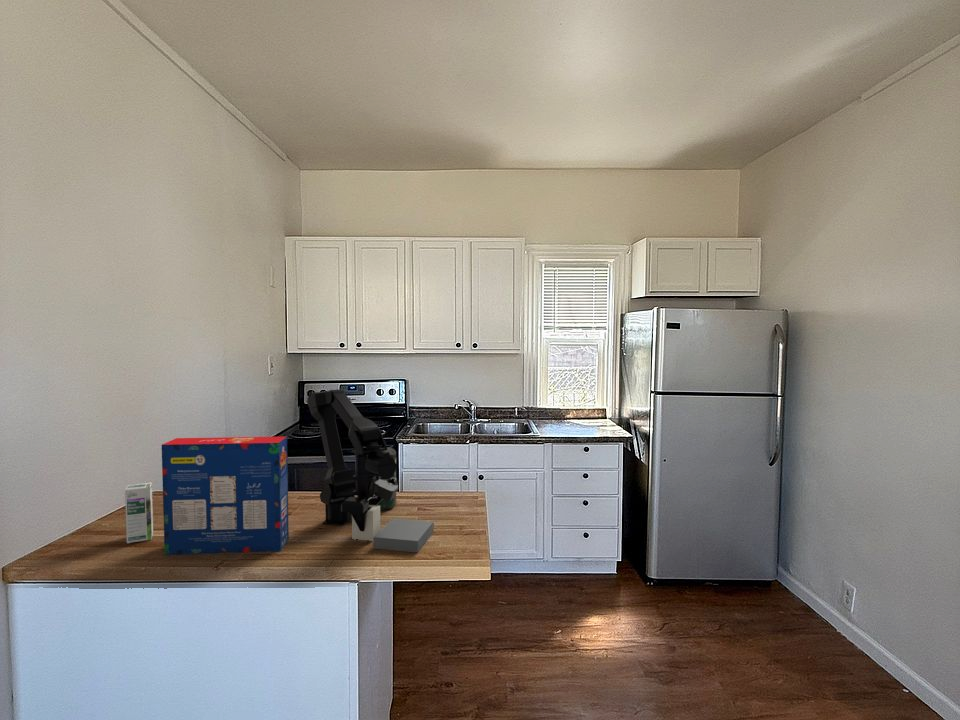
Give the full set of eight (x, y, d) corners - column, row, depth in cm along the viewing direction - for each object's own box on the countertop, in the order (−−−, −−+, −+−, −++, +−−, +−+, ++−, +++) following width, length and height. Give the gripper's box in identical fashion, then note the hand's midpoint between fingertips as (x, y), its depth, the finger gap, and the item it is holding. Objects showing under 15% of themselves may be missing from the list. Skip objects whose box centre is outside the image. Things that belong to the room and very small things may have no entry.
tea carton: (352, 539, 142) (352, 510, 142) (360, 532, 147) (359, 504, 147) (373, 541, 141) (373, 511, 140) (380, 534, 146) (380, 505, 145)
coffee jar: (393, 510, 165) (393, 452, 164) (368, 510, 165) (368, 452, 164) (398, 500, 174) (398, 445, 173) (374, 500, 174) (374, 445, 173)
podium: (373, 548, 136) (373, 537, 136) (393, 528, 150) (393, 518, 150) (417, 552, 134) (417, 541, 134) (433, 532, 147) (433, 521, 147)
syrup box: (126, 544, 138) (124, 489, 137) (129, 536, 143) (127, 483, 142) (151, 540, 141) (150, 486, 140) (153, 532, 146) (152, 481, 145)
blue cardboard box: (288, 538, 142) (287, 436, 141) (280, 551, 134) (278, 442, 133) (179, 542, 139) (176, 438, 138) (164, 555, 131) (161, 444, 130)
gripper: (380, 482, 132) (381, 543, 133) (405, 464, 150) (406, 517, 151) (339, 479, 134) (340, 539, 135) (369, 462, 153) (369, 515, 154)
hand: (366, 527), depth 144 cm, fingers closed on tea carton, 5 cm apart
